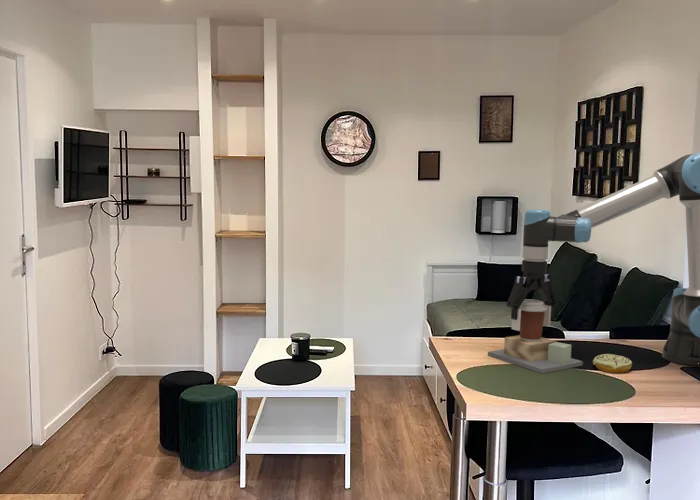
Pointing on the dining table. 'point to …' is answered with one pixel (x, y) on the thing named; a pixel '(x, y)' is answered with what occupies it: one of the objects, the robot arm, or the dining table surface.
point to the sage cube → (559, 352)
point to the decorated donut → (612, 363)
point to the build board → (534, 362)
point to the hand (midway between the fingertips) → (531, 327)
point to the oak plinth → (527, 348)
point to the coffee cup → (532, 320)
